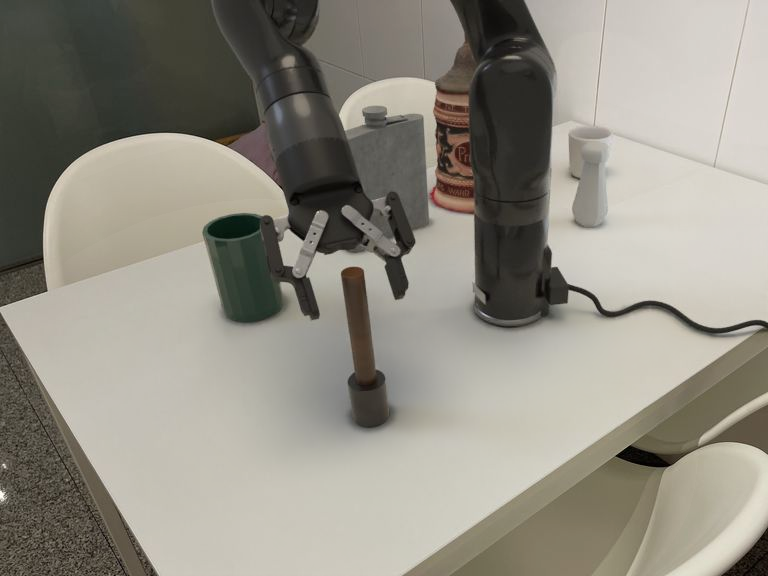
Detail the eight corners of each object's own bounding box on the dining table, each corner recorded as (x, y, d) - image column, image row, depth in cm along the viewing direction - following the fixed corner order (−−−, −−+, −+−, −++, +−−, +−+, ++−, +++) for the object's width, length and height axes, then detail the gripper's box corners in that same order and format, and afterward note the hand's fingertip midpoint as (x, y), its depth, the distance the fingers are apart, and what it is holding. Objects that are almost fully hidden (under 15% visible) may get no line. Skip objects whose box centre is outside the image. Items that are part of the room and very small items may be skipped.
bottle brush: (387, 401, 79) (371, 259, 68) (391, 424, 75) (375, 280, 65) (351, 406, 78) (330, 264, 67) (353, 429, 75) (331, 284, 64)
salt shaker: (566, 226, 114) (572, 148, 106) (575, 212, 118) (581, 136, 110) (602, 231, 112) (610, 152, 104) (610, 217, 116) (618, 140, 108)
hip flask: (353, 254, 107) (336, 124, 95) (338, 245, 110) (320, 117, 98) (433, 222, 116) (426, 99, 104) (417, 215, 118) (409, 94, 106)
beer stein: (482, 232, 118) (538, 187, 129) (490, 66, 98) (554, 29, 109) (406, 200, 124) (465, 160, 135) (398, 39, 105) (468, 7, 116)
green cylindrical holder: (284, 288, 99) (268, 210, 92) (283, 318, 93) (266, 237, 86) (226, 294, 98) (206, 216, 91) (221, 325, 92) (199, 243, 85)
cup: (614, 188, 126) (618, 145, 121) (569, 189, 126) (572, 145, 121) (605, 166, 134) (609, 125, 130) (563, 167, 135) (566, 125, 130)
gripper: (237, 147, 63) (287, 315, 61) (386, 123, 68) (437, 279, 66) (239, 182, 70) (284, 334, 68) (374, 159, 75) (419, 300, 73)
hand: (359, 307), depth 67 cm, fingers open, 8 cm apart
